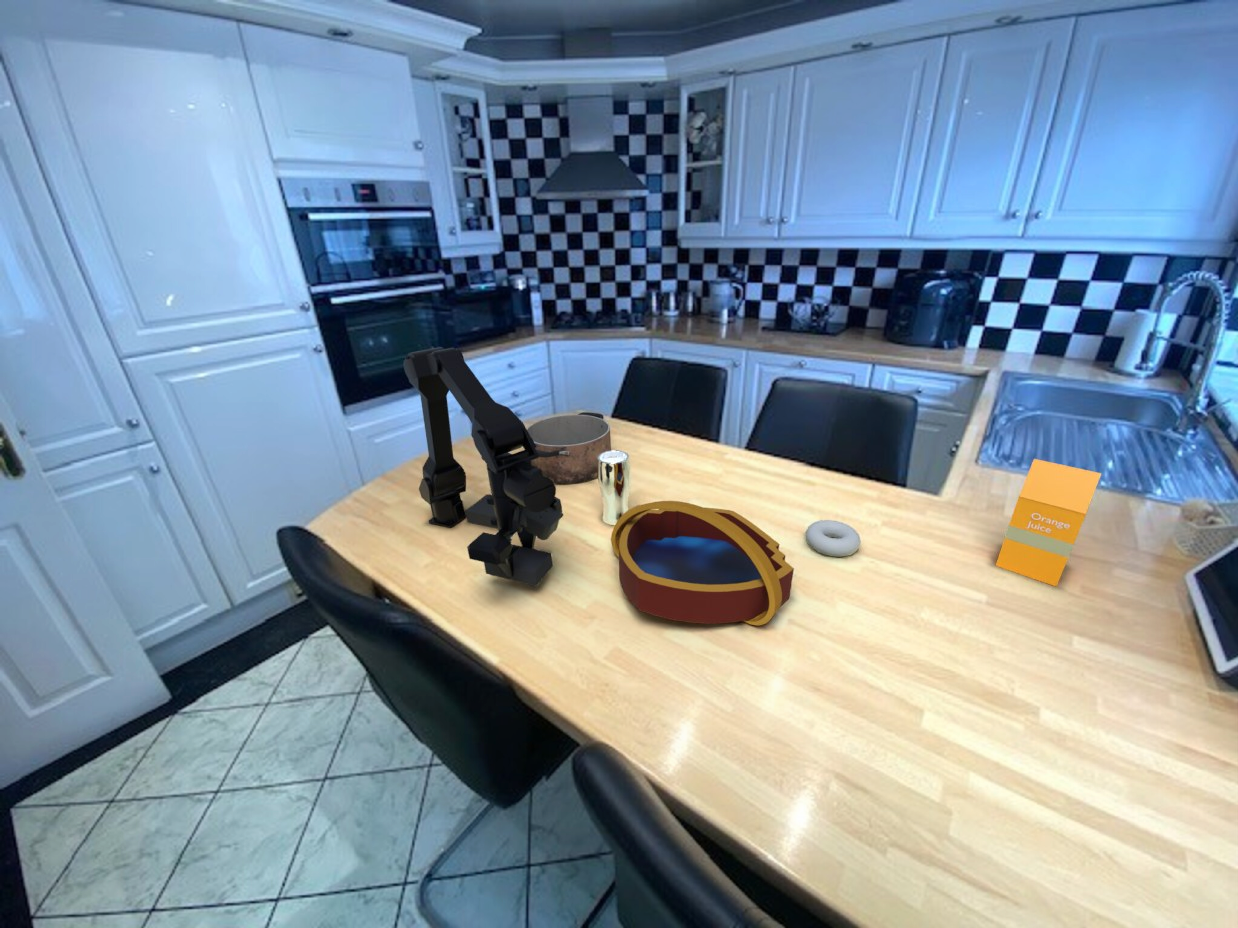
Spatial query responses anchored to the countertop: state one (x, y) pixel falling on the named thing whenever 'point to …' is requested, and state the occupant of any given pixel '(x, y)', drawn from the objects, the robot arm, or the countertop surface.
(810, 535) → the donut
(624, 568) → the decorative basket
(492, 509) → the dock pad
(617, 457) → the beer glass
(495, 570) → the black flat notched block
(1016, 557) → the orange juice
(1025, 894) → the countertop surface
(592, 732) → the countertop surface
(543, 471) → the cooking pot
